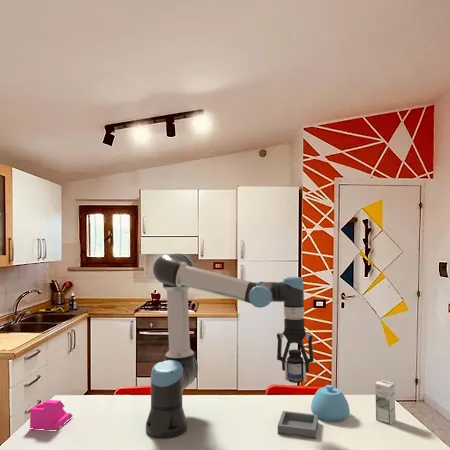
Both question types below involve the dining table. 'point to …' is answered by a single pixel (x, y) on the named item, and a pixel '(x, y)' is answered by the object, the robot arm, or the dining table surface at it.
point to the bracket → (48, 415)
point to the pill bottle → (295, 366)
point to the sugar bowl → (330, 404)
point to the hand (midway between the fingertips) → (295, 379)
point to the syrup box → (385, 401)
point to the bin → (298, 424)
